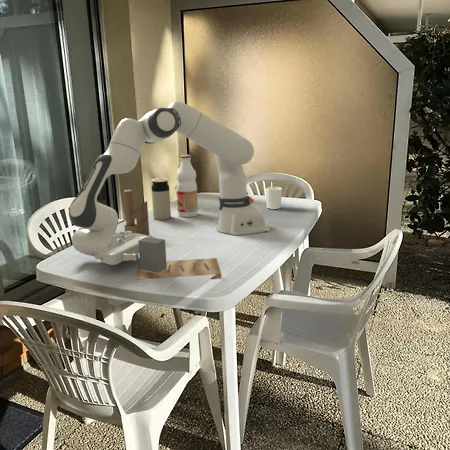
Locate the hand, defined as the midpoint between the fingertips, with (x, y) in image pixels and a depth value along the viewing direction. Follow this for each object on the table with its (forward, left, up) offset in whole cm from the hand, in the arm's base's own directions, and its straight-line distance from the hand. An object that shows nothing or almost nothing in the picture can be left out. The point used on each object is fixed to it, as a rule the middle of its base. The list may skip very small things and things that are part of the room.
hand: (146, 252), depth 148 cm
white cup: (-58, -72, -7) cm, 93 cm away
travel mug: (-4, -65, -7) cm, 66 cm away
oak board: (-10, +2, -7) cm, 12 cm away
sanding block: (-2, +2, -5) cm, 6 cm away
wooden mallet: (+6, -42, -7) cm, 43 cm away
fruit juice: (-16, -68, -7) cm, 71 cm away
